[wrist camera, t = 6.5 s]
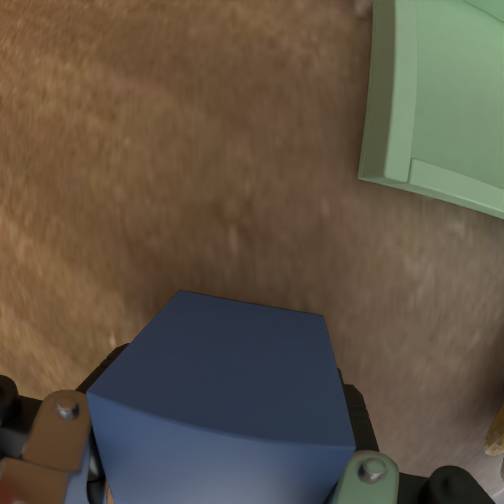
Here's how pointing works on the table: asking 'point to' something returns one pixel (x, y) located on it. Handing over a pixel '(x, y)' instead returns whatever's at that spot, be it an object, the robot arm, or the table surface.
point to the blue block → (223, 408)
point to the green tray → (437, 101)
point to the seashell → (496, 438)
